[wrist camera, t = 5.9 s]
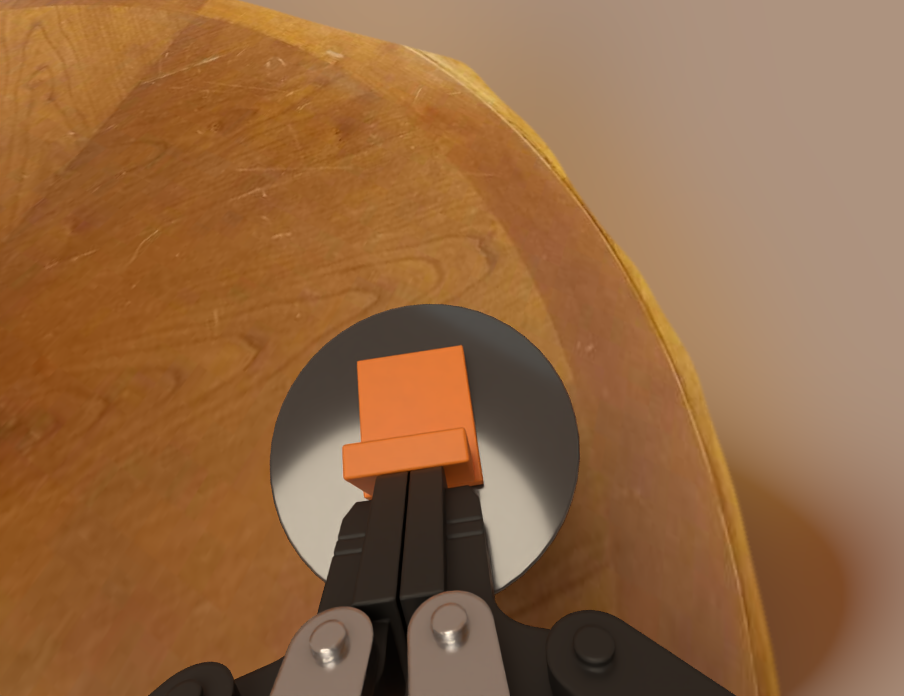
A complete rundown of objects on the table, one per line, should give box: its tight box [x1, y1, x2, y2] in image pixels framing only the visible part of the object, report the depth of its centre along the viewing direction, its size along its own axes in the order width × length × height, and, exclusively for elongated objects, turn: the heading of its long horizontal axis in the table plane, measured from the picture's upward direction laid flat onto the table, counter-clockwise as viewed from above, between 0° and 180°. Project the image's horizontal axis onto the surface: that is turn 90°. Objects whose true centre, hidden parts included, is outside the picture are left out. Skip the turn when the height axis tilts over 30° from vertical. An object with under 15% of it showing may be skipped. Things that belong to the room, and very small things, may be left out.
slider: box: [342, 345, 483, 500], centre depth 13 cm, size 4×3×3 cm
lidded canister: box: [270, 304, 580, 595], centre depth 20 cm, size 9×9×12 cm
